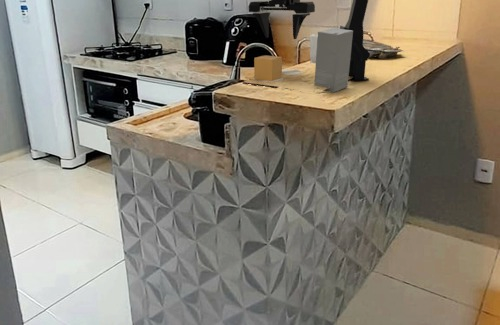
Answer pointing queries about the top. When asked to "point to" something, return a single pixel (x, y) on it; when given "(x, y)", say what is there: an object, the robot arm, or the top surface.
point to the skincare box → (333, 59)
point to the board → (284, 72)
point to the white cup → (313, 47)
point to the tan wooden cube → (268, 68)
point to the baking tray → (379, 49)
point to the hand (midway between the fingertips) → (280, 38)
